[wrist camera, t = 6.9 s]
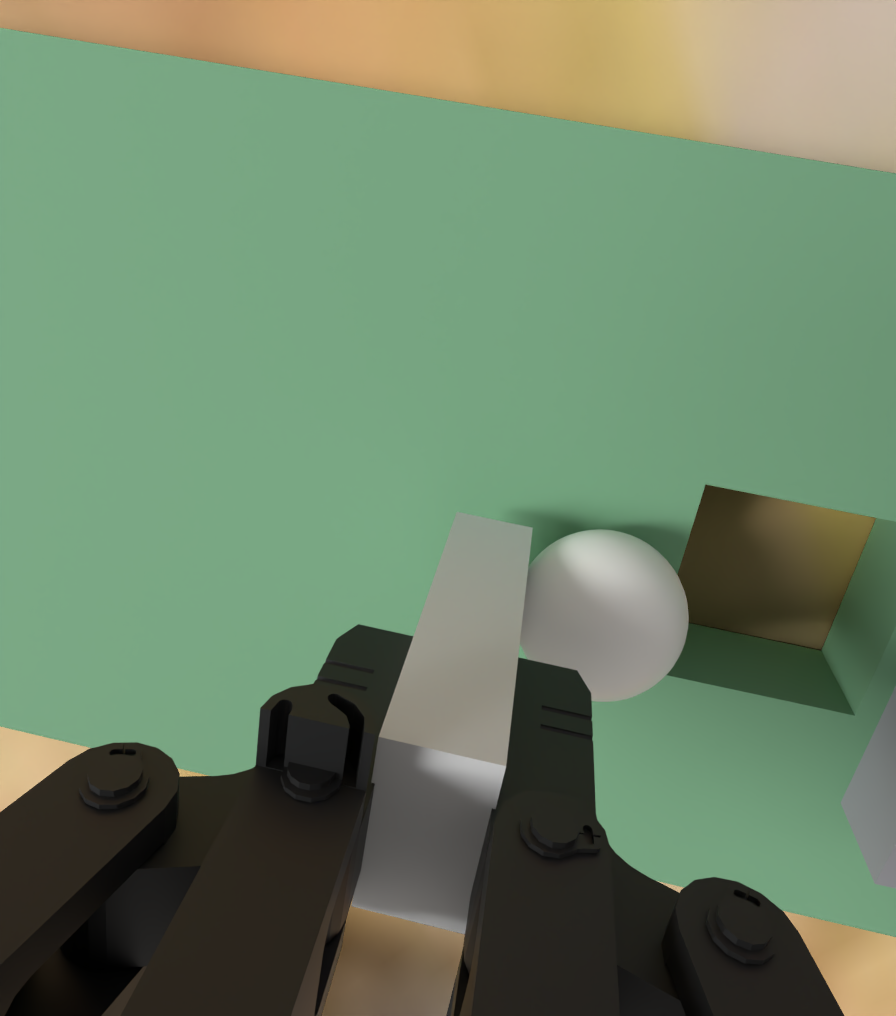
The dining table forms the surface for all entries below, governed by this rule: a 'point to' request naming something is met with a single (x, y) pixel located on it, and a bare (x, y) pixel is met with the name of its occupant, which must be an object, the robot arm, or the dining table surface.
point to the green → (435, 423)
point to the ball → (605, 612)
